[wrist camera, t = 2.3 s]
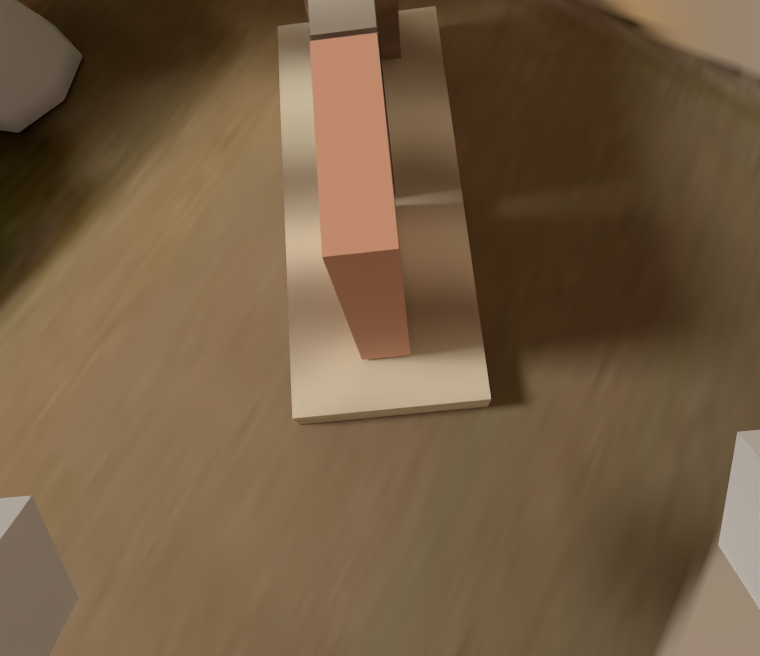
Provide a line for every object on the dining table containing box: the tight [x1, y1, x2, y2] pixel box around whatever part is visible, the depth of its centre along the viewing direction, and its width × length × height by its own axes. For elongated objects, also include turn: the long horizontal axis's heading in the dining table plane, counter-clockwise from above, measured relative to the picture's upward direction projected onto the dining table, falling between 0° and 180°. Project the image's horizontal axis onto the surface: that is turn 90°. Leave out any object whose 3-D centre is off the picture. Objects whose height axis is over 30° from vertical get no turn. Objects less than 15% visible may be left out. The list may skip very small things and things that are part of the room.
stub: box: [310, 33, 411, 360], centre depth 22 cm, size 7×2×10 cm, turn 5°
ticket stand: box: [277, 0, 491, 425], centre depth 24 cm, size 20×8×12 cm, turn 5°
